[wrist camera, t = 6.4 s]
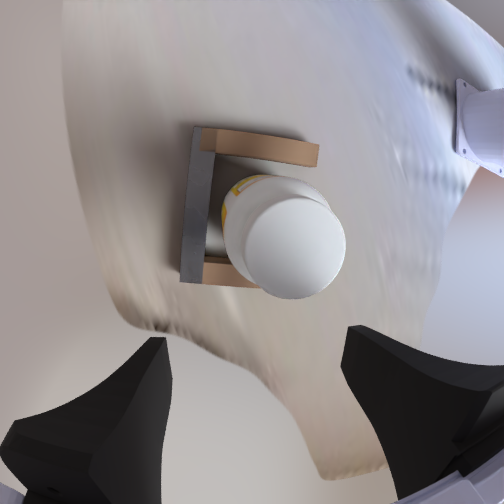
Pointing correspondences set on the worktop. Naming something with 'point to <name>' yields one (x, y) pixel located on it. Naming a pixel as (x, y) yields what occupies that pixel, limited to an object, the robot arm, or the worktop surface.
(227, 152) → the walnut dock
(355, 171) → the worktop surface
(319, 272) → the supplement bottle
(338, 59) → the worktop surface
